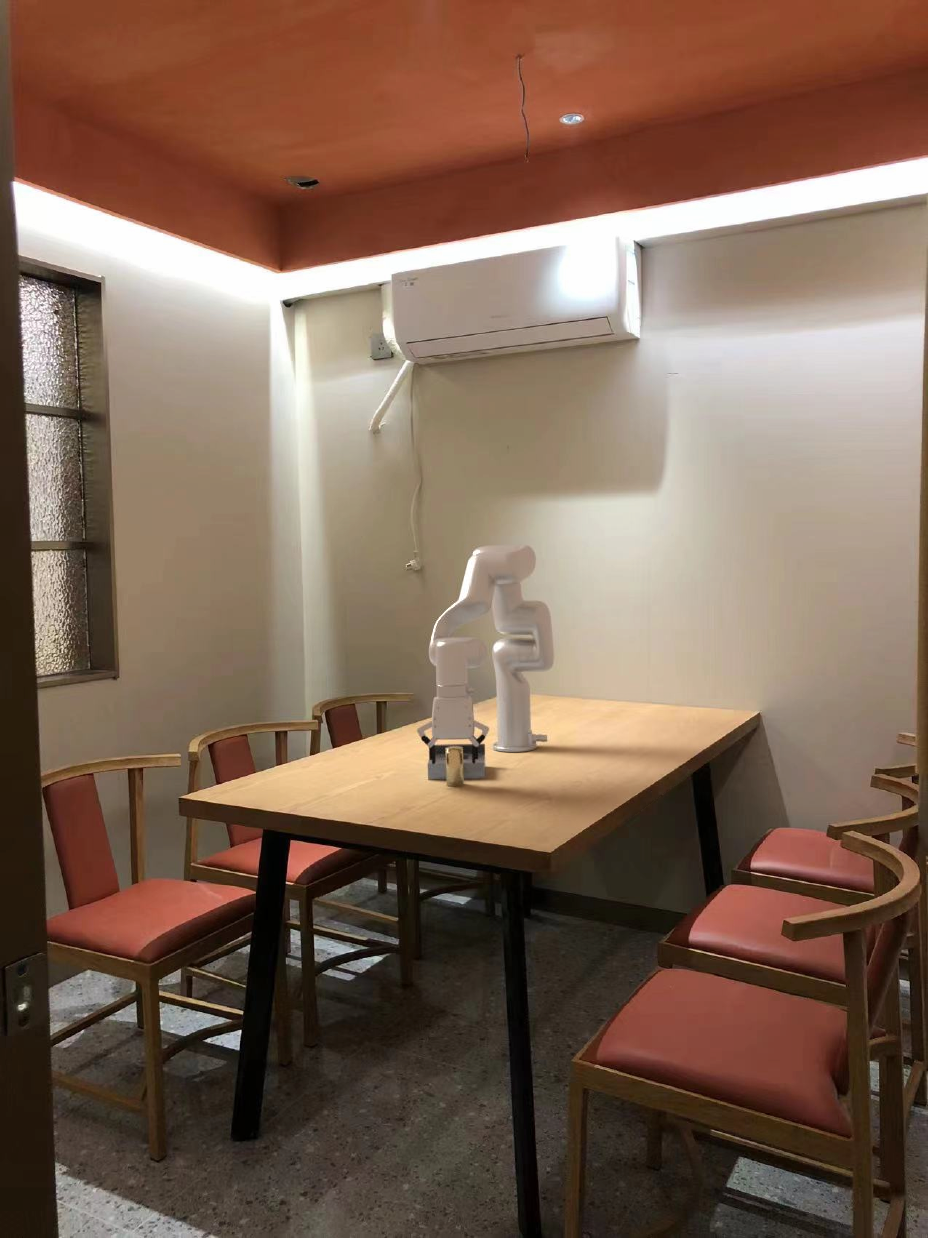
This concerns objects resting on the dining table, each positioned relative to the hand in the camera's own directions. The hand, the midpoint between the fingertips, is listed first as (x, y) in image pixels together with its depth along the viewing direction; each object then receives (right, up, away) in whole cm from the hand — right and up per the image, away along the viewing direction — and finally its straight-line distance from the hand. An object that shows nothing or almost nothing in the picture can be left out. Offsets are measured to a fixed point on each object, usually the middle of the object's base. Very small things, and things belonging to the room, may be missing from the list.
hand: (453, 762), depth 234 cm
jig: (+1, -5, +14) cm, 15 cm away
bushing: (0, -6, +1) cm, 6 cm away
